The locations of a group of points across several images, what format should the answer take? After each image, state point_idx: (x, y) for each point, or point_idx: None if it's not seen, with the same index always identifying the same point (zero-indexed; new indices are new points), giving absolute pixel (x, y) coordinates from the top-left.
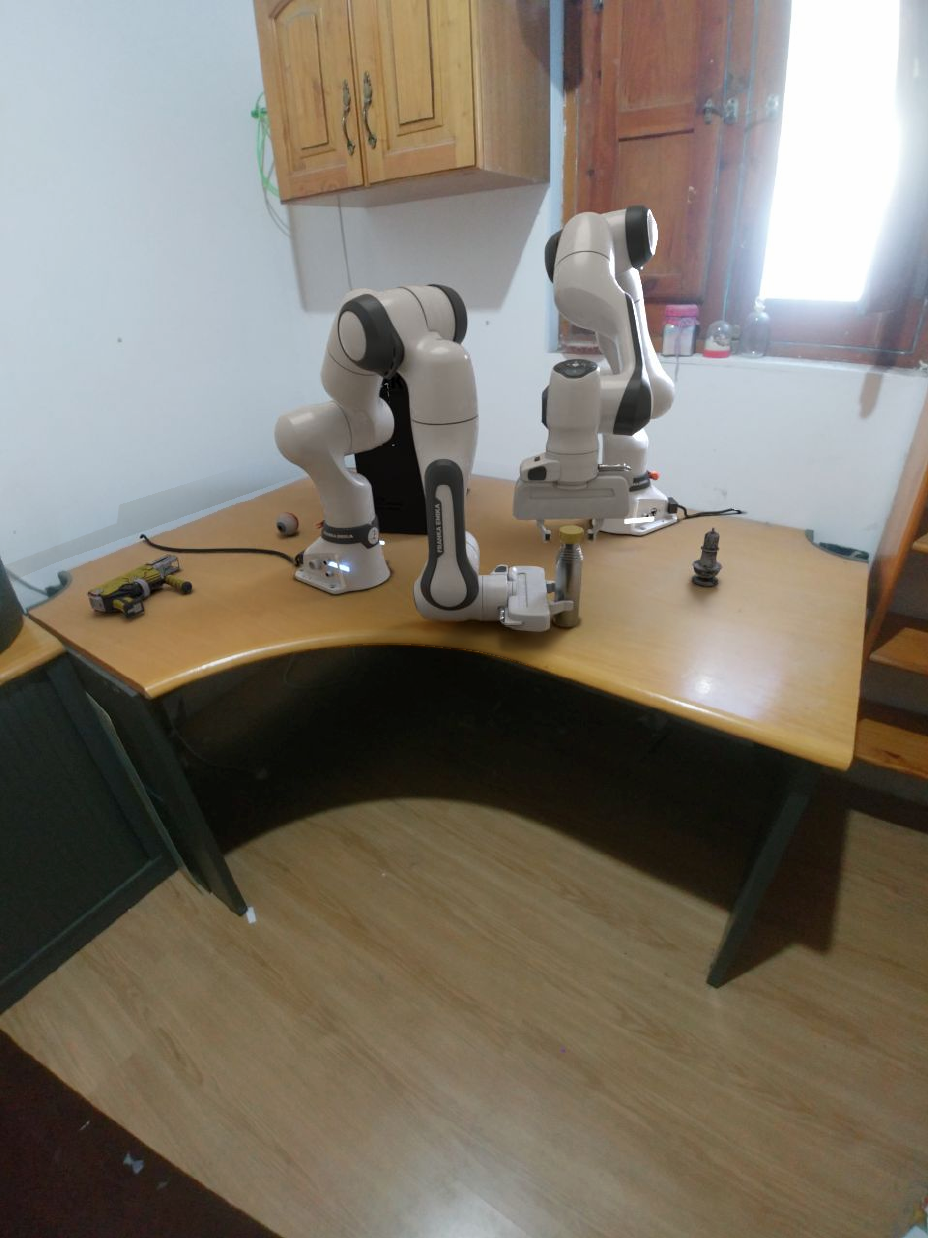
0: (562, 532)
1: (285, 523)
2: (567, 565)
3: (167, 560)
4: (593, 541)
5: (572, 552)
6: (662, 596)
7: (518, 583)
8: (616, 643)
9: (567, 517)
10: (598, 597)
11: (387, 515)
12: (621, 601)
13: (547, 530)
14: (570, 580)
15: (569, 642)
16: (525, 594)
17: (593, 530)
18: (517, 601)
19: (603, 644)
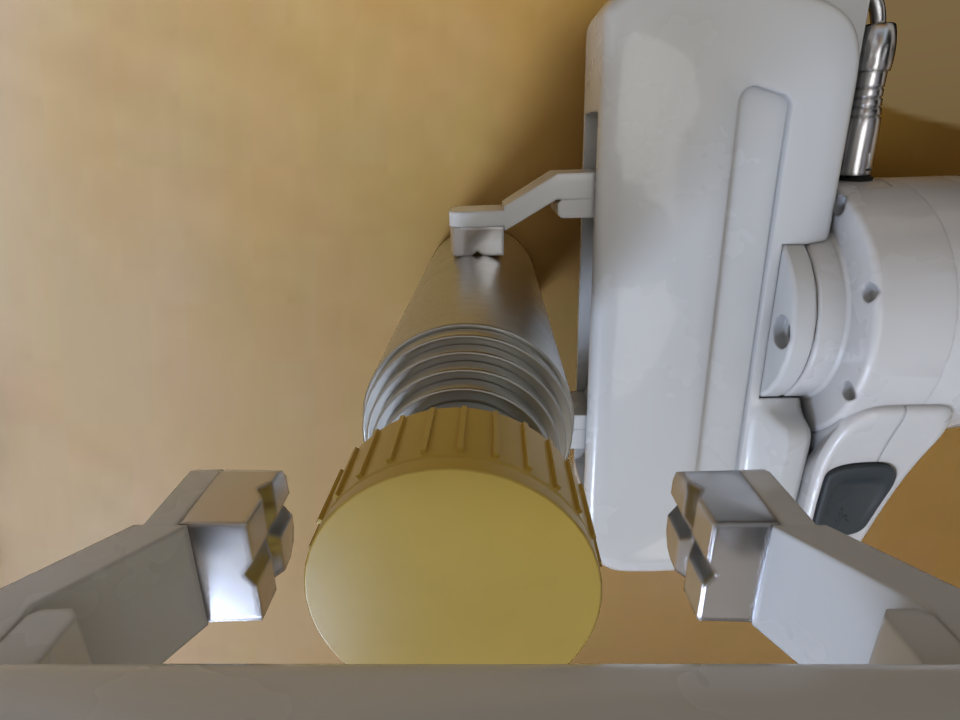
0: (574, 517)
1: None
2: (490, 315)
3: None
4: (224, 471)
5: (447, 380)
6: (82, 479)
7: (741, 402)
8: (260, 88)
9: (542, 686)
10: (336, 473)
11: None
12: (244, 442)
13: (734, 609)
14: (464, 282)
15: (472, 94)
16: (721, 273)
17: (178, 571)
18: (788, 170)
19: (319, 77)
